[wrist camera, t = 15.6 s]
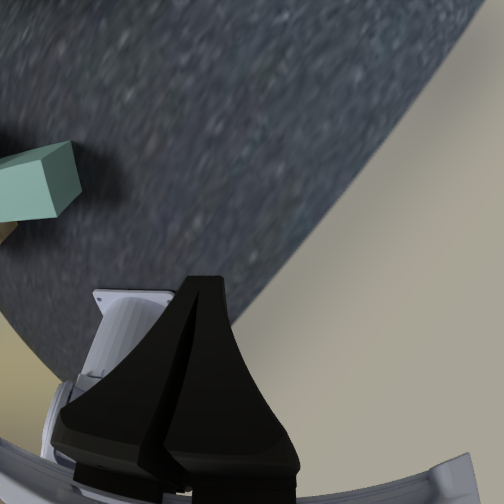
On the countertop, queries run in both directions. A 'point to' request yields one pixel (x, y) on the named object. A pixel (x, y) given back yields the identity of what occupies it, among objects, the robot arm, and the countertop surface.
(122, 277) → the countertop surface
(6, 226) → the block
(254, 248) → the countertop surface
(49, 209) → the mint green rectangular prism
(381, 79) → the countertop surface
